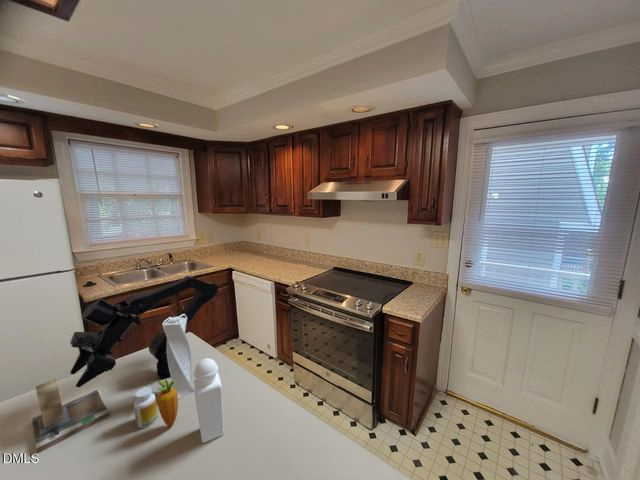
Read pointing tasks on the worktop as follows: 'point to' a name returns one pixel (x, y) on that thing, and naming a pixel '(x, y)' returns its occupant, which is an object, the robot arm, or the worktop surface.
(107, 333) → the robot arm
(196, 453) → the worktop surface
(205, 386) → the white square bottle
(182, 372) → the skyscraper
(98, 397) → the board
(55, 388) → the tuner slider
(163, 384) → the carrot
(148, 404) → the supplement bottle
